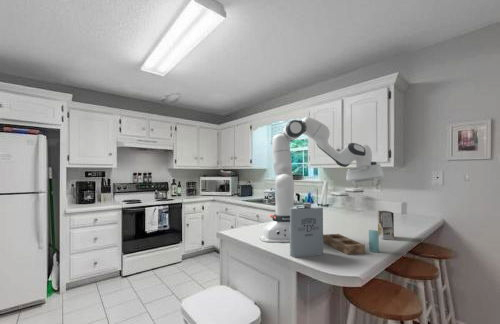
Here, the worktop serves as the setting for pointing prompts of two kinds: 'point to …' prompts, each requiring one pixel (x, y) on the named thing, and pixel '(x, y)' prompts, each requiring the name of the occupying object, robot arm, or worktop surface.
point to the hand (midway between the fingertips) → (364, 186)
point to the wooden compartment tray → (344, 244)
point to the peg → (373, 241)
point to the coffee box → (386, 225)
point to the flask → (306, 231)
